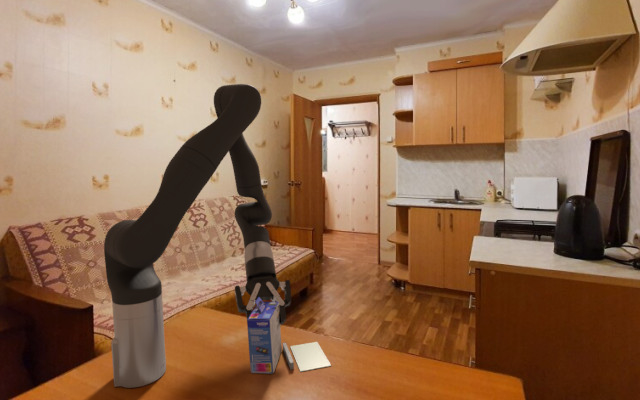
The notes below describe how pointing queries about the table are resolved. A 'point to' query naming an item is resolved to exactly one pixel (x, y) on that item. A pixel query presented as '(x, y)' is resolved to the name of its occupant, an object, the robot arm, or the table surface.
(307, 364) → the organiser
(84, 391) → the table surface
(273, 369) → the ink cartridge box
